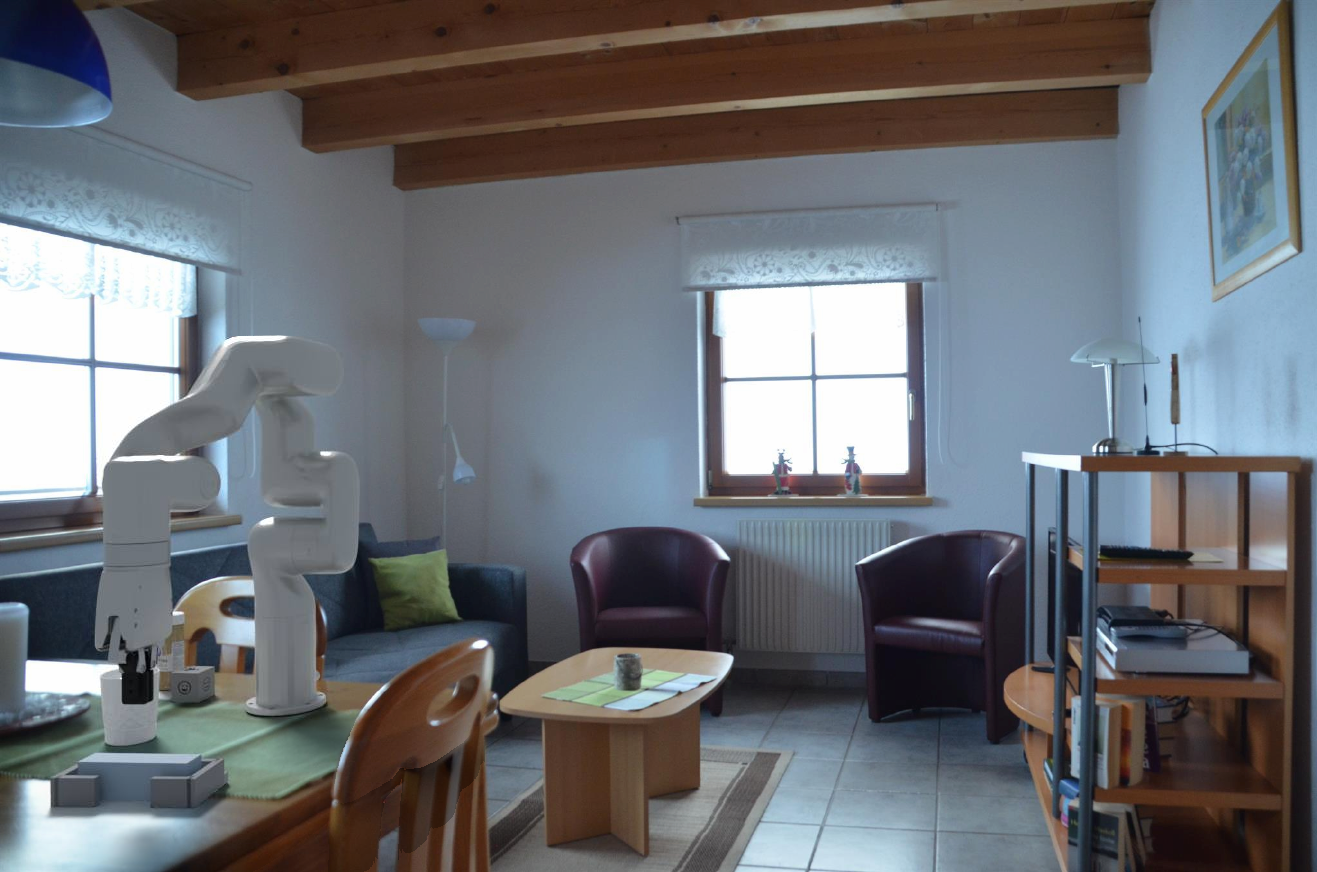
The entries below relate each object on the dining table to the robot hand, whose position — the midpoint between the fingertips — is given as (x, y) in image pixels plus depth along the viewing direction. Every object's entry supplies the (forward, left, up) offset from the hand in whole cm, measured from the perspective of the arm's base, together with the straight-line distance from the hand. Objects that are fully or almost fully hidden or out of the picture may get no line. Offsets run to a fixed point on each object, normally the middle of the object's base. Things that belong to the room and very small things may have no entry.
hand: (137, 702), depth 125 cm
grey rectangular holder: (0, 0, -12) cm, 12 cm away
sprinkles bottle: (-53, -24, -12) cm, 60 cm away
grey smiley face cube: (-47, -17, -12) cm, 51 cm away
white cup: (-23, -14, -12) cm, 30 cm away
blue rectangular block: (0, 0, -12) cm, 12 cm away
